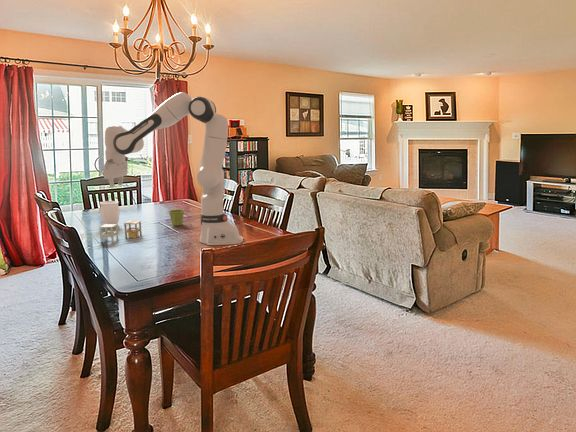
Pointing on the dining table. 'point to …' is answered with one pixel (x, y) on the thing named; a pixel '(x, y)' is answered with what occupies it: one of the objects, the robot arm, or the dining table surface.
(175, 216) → the plant pot
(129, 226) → the tan square stool
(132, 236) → the letter block
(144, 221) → the dining table surface
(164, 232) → the dining table surface
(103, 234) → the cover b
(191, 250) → the dining table surface
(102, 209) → the jar
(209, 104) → the robot arm
